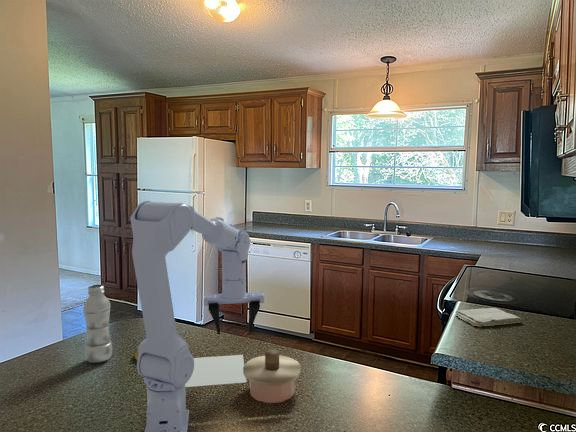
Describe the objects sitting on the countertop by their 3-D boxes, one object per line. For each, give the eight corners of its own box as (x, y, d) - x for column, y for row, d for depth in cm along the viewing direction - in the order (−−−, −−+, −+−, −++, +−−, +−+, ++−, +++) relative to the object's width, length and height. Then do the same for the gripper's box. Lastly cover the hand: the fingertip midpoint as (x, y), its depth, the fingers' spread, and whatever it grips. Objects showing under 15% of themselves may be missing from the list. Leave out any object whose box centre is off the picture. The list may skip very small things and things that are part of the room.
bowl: (298, 402, 92) (298, 380, 91) (252, 406, 90) (251, 384, 89) (290, 379, 101) (290, 359, 101) (248, 383, 100) (248, 362, 99)
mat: (246, 384, 99) (246, 382, 99) (181, 389, 97) (181, 387, 97) (242, 356, 114) (242, 354, 114) (185, 360, 111) (185, 358, 111)
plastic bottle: (79, 362, 110) (75, 287, 107) (101, 352, 116) (98, 281, 113) (96, 368, 107) (92, 291, 104) (118, 357, 113) (115, 284, 110)
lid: (307, 381, 90) (307, 362, 90) (247, 388, 88) (247, 368, 87) (293, 355, 103) (293, 338, 103) (240, 360, 100) (239, 343, 100)
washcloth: (452, 317, 146) (453, 308, 146) (495, 313, 151) (496, 304, 151) (476, 330, 135) (476, 320, 135) (522, 324, 140) (523, 315, 139)
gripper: (262, 272, 108) (262, 324, 109) (204, 274, 105) (204, 327, 107) (265, 280, 101) (265, 334, 102) (203, 282, 98) (204, 338, 100)
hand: (234, 331), depth 104 cm, fingers open, 7 cm apart
